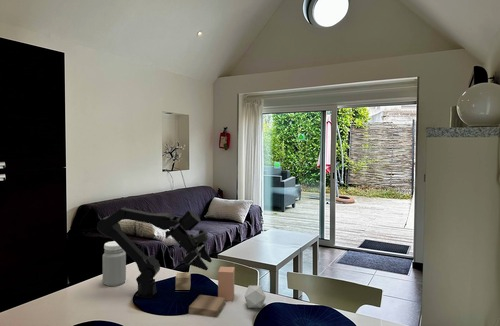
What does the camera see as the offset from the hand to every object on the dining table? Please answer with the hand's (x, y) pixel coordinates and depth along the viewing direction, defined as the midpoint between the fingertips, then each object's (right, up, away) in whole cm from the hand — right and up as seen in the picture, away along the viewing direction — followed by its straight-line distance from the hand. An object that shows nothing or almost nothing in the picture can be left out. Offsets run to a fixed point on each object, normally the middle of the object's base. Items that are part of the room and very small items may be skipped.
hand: (209, 265), depth 145 cm
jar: (-44, -12, +14) cm, 48 cm away
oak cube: (-13, -13, +9) cm, 20 cm away
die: (+19, -14, -7) cm, 24 cm away
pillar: (+7, -13, 0) cm, 15 cm away
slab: (+1, -14, -9) cm, 17 cm away
